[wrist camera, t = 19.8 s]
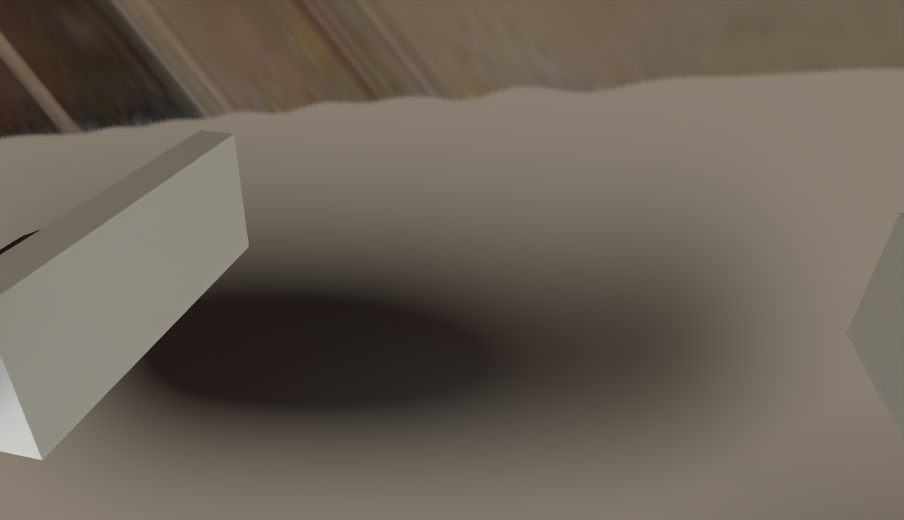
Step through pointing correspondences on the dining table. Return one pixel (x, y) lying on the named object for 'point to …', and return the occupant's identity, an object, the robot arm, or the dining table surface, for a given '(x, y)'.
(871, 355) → the robot arm
